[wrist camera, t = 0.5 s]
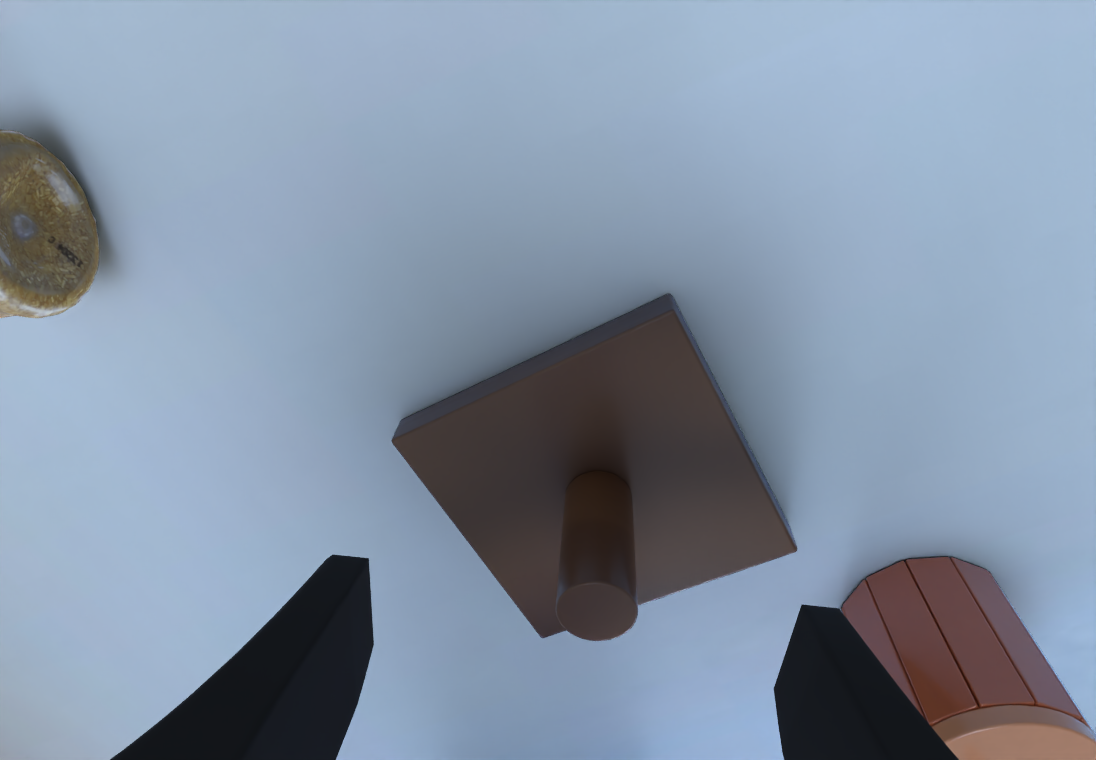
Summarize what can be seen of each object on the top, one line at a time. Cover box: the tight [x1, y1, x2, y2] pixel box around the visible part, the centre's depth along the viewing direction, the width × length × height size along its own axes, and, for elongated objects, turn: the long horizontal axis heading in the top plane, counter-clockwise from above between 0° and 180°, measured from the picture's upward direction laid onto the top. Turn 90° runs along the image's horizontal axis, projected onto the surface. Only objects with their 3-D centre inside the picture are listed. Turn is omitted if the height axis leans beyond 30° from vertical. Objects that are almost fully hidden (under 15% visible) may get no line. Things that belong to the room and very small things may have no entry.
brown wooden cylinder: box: [841, 557, 1096, 760], centre depth 22 cm, size 5×5×6 cm
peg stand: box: [392, 294, 797, 641], centre depth 20 cm, size 9×9×6 cm
